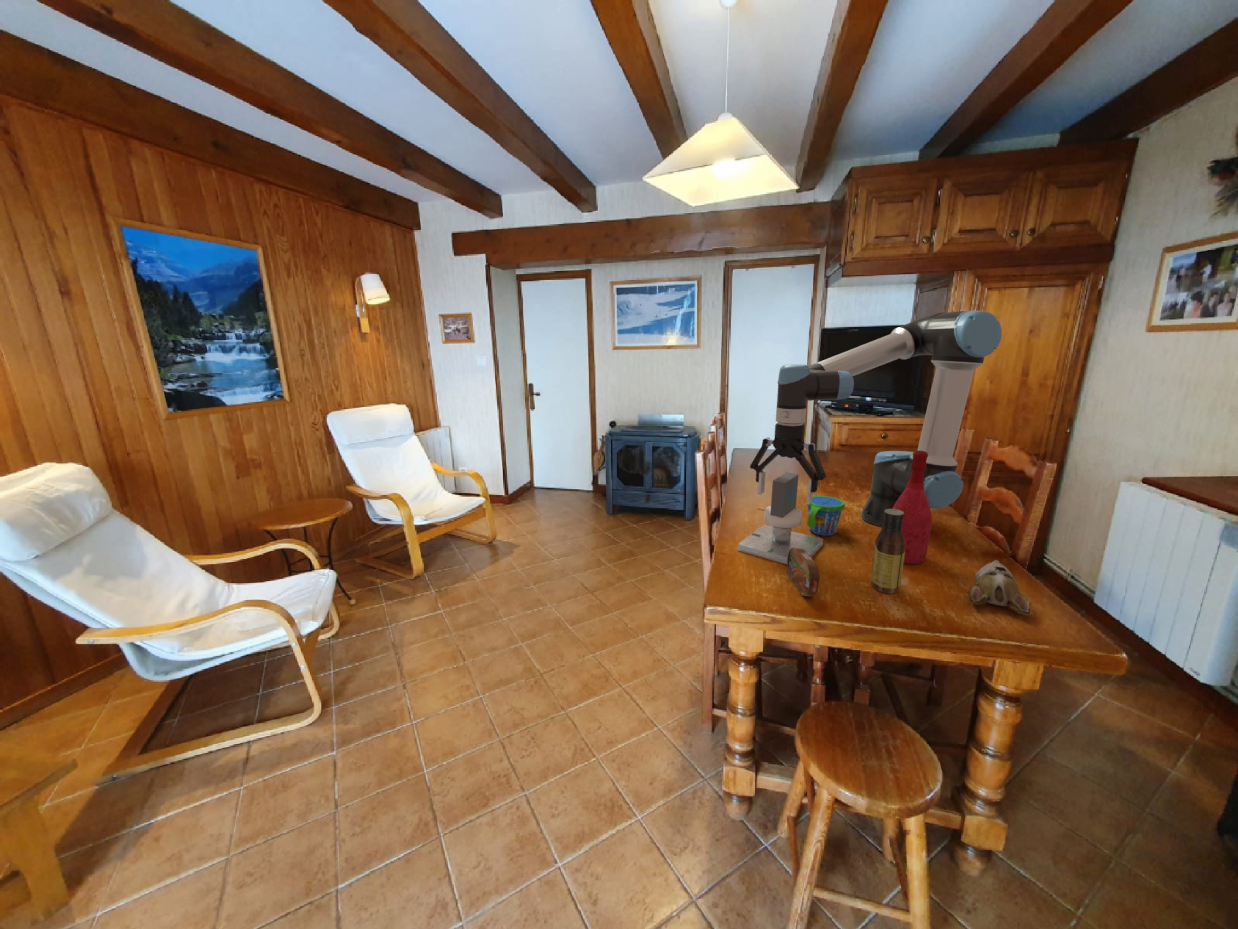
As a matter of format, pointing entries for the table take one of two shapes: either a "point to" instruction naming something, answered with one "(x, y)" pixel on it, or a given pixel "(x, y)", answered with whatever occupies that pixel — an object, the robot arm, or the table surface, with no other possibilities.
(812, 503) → the snack cup
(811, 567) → the tin
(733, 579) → the table surface
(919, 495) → the wine bottle
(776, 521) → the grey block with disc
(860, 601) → the table surface
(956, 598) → the table surface
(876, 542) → the sauce bottle
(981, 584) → the ceramic sculpture
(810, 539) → the base
